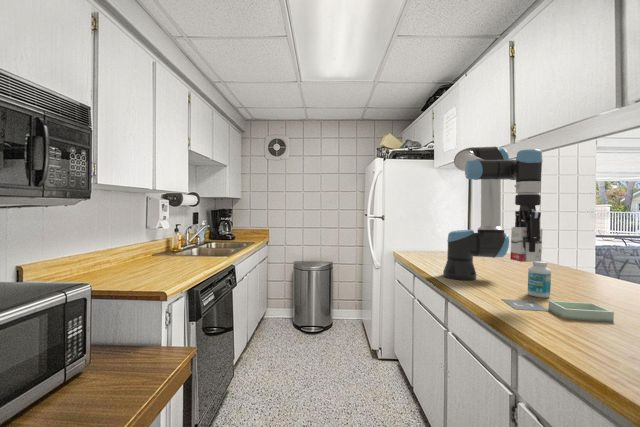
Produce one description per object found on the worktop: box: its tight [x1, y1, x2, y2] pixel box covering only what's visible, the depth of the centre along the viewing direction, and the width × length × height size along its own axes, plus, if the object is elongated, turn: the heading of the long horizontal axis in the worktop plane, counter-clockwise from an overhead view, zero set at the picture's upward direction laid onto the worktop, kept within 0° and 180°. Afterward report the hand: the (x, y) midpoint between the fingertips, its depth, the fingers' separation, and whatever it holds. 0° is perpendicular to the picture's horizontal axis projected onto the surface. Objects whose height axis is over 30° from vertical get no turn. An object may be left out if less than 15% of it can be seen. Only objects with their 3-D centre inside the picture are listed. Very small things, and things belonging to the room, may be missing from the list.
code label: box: [501, 298, 551, 312], centre depth 115 cm, size 12×11×1 cm
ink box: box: [509, 226, 543, 263], centre depth 115 cm, size 9×5×12 cm, turn 98°
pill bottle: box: [527, 260, 552, 299], centre depth 128 cm, size 8×7×14 cm
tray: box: [548, 300, 615, 323], centre depth 104 cm, size 9×13×3 cm
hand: (525, 259), depth 115 cm, fingers closed on ink box, 6 cm apart
